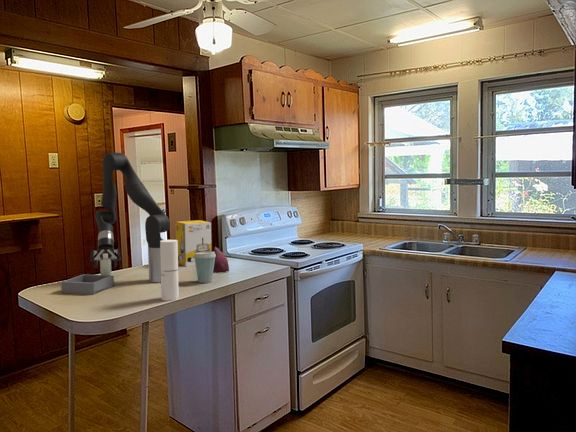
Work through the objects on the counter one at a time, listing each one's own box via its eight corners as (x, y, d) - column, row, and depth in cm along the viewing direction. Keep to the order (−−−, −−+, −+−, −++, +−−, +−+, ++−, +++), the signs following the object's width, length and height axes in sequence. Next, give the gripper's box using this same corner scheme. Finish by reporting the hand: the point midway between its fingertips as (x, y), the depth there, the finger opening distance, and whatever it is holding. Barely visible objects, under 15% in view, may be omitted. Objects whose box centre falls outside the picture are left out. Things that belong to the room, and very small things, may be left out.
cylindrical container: (174, 301, 189) (172, 242, 187) (158, 300, 190) (157, 241, 188) (181, 296, 196) (180, 239, 194) (166, 295, 197) (165, 239, 195)
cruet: (113, 280, 226) (112, 252, 225) (108, 282, 221) (107, 254, 220) (104, 279, 227) (103, 252, 226) (98, 282, 222) (97, 254, 221)
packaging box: (185, 266, 261) (184, 223, 259) (176, 262, 274) (175, 221, 272) (211, 263, 270) (211, 222, 267) (201, 259, 283) (200, 220, 281)
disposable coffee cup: (190, 283, 220) (189, 253, 219) (201, 278, 231) (201, 249, 229) (209, 284, 217) (208, 254, 216) (219, 280, 227) (219, 250, 226)
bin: (113, 285, 215) (113, 275, 214) (94, 294, 199) (93, 283, 199) (83, 284, 218) (83, 274, 217) (61, 292, 202) (61, 281, 201)
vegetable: (208, 277, 247) (200, 251, 245) (218, 271, 256) (210, 246, 255) (224, 274, 243) (216, 248, 241) (233, 268, 252) (225, 243, 250)
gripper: (90, 237, 228) (89, 263, 218) (120, 236, 232) (120, 262, 223) (91, 246, 233) (90, 272, 223) (120, 244, 238) (121, 270, 228)
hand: (105, 267), depth 223 cm, fingers open, 8 cm apart
